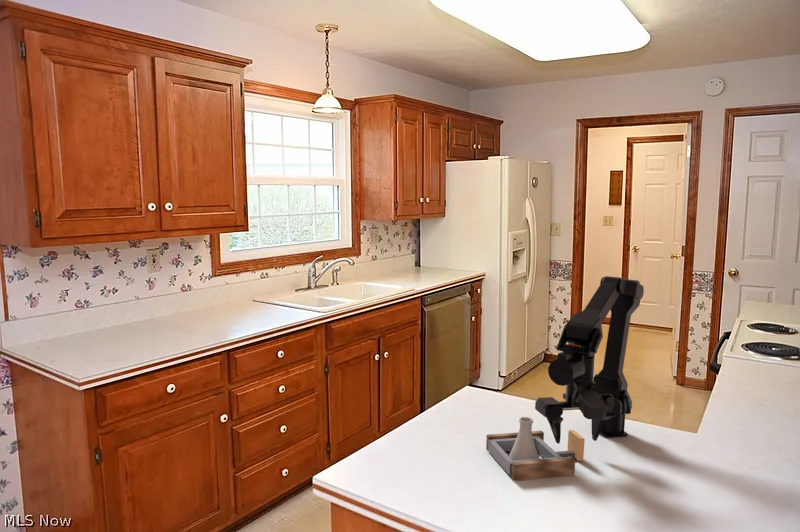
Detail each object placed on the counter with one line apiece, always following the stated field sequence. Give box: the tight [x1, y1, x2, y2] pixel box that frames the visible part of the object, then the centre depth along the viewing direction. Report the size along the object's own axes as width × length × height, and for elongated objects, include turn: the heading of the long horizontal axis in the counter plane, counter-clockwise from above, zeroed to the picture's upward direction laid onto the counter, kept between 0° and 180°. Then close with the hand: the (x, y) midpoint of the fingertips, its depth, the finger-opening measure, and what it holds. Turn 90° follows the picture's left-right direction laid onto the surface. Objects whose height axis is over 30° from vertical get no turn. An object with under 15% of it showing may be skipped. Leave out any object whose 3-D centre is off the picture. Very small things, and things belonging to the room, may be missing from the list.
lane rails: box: [485, 430, 576, 482], centre depth 130 cm, size 14×16×4 cm
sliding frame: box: [487, 429, 586, 476], centre depth 130 cm, size 19×12×5 cm, turn 102°
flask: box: [508, 416, 540, 461], centre depth 129 cm, size 7×7×10 cm
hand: (576, 441), depth 132 cm, fingers open, 9 cm apart
